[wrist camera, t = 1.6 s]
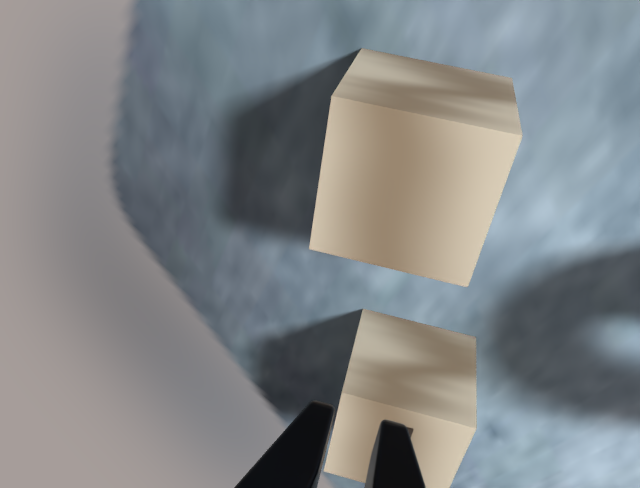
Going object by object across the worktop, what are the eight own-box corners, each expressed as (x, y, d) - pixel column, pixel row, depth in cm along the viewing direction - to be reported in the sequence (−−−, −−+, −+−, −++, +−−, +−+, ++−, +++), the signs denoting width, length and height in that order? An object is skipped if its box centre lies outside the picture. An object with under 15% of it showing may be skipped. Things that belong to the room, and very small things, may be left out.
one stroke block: (476, 335, 24) (476, 430, 20) (446, 410, 27) (441, 507, 23) (363, 307, 25) (341, 394, 21) (345, 383, 28) (323, 473, 24)
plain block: (511, 77, 18) (522, 135, 14) (468, 207, 21) (467, 287, 17) (362, 47, 19) (331, 95, 15) (339, 178, 22) (308, 249, 18)
